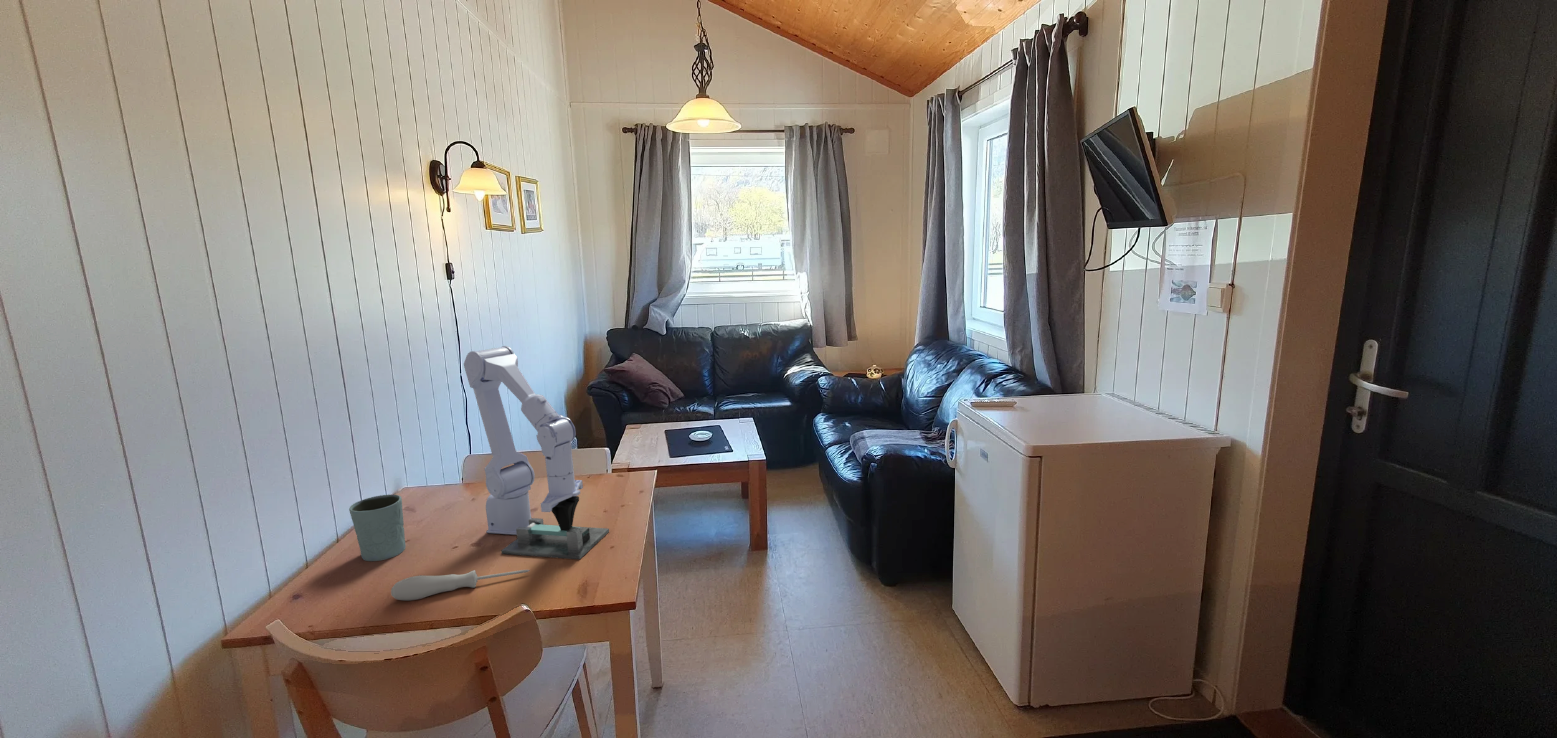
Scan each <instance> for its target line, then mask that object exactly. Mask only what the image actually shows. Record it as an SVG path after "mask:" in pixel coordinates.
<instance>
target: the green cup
mask: <svg viewBox="0 0 1557 738" xmlns="http://www.w3.org/2000/svg"><path fill="white" fill-rule="evenodd" d="M348 510H349V511H348V512H349V513H350V514H349V515H350V519H351V521H352V523H353V528H354V532H355V534H356V540H357V542H358V546H359V551H360V555H361V558H362V560H363V561H366V562H379V561H383V560H385V561H386V560H388V559H391V558H394V557H396V556H398V555H401V554H402V553H403V552H405V550H406V547H407V546H406V538H405V528H404V526H405V525H404V523H405V522H404V513H403V499H402V496H401V495H399V494H380V495H376V496H371V497H366V498H364V499H361V500H359V501H357V502H354V503H352V504H351V505H350V506H349V509H348Z"/></svg>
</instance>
